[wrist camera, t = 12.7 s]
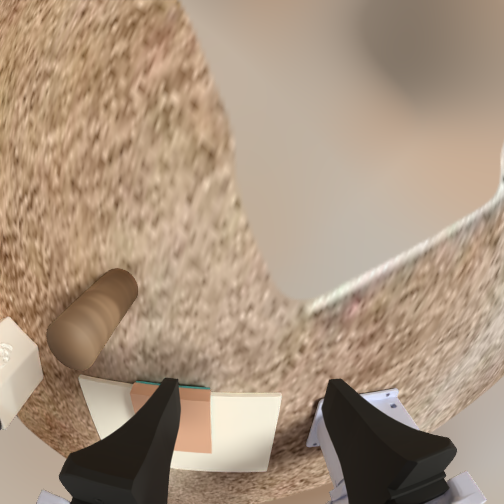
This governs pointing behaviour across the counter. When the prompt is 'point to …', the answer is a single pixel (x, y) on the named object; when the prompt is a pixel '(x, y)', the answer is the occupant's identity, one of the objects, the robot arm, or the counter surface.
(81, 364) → the pestle
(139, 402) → the tile
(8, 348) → the jar
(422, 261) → the counter surface
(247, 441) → the board
